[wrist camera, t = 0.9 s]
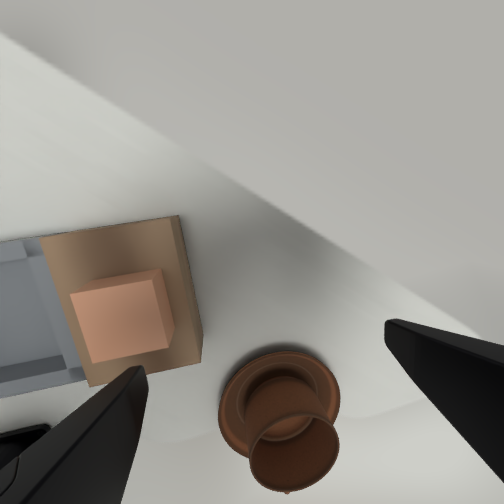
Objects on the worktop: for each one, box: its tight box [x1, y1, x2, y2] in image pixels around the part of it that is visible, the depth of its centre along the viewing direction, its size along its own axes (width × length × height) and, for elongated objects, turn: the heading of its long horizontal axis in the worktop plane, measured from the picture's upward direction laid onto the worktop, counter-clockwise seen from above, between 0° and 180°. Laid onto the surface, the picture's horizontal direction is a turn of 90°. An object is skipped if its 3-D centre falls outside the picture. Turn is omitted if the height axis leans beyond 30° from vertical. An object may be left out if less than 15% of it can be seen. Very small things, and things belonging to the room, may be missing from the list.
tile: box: [70, 268, 175, 364], centre depth 16 cm, size 4×4×2 cm
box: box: [0, 232, 87, 398], centre depth 18 cm, size 10×11×3 cm
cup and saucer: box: [218, 351, 340, 494], centre depth 22 cm, size 12×12×6 cm
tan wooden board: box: [39, 215, 203, 387], centre depth 19 cm, size 8×11×4 cm
